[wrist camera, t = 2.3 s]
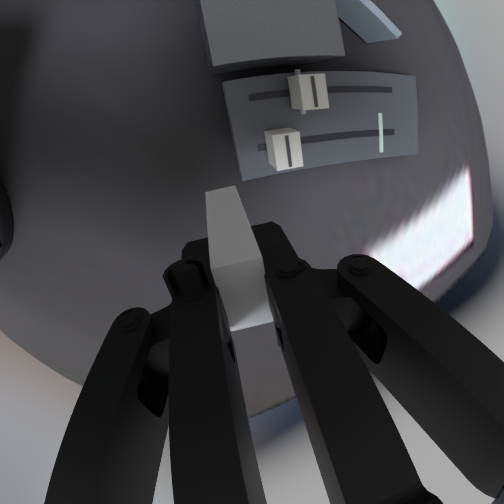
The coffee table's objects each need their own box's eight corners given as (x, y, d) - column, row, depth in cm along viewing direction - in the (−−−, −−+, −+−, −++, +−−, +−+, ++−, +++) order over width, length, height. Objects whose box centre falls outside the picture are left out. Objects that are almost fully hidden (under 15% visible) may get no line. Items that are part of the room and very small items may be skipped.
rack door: (364, 44, 21) (401, 38, 16) (294, -14, 17) (320, -36, 12) (375, 31, 20) (412, 24, 15) (308, -26, 16) (335, -48, 11)
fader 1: (269, 163, 25) (277, 171, 23) (264, 131, 24) (272, 135, 21) (292, 158, 26) (303, 166, 23) (288, 127, 24) (299, 131, 21)
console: (239, 175, 28) (242, 181, 26) (220, 80, 22) (222, 78, 21) (408, 150, 29) (418, 154, 28) (404, 73, 24) (415, 73, 22)
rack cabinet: (209, 75, 22) (213, 66, 15) (192, -8, 16) (191, -42, 10) (307, 63, 23) (345, 55, 16) (291, -16, 17) (321, -44, 10)
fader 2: (292, 108, 23) (303, 110, 20) (287, 76, 21) (298, 74, 19) (315, 106, 23) (329, 108, 20) (311, 75, 21) (325, 73, 19)
